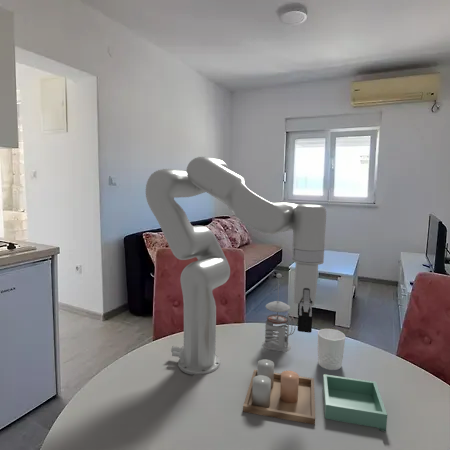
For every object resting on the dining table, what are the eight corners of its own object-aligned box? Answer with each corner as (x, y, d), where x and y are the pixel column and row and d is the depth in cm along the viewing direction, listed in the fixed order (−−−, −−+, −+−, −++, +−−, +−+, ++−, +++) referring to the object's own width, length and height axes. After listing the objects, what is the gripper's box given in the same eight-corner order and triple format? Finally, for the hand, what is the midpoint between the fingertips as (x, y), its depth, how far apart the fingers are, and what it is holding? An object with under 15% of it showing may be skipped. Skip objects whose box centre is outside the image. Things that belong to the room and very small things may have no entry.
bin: (324, 420, 77) (325, 404, 77) (322, 388, 90) (323, 374, 89) (386, 431, 74) (387, 414, 74) (374, 396, 87) (375, 381, 86)
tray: (242, 413, 79) (243, 406, 79) (253, 376, 95) (254, 369, 95) (314, 427, 75) (315, 418, 75) (313, 385, 91) (314, 378, 91)
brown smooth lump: (279, 401, 83) (280, 378, 82) (280, 391, 87) (281, 369, 86) (297, 404, 82) (298, 381, 81) (298, 394, 86) (299, 372, 85)
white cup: (345, 374, 97) (347, 341, 95) (316, 371, 98) (318, 338, 97) (341, 360, 104) (343, 330, 103) (315, 357, 106) (316, 327, 105)
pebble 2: (250, 407, 80) (251, 383, 80) (253, 396, 85) (254, 374, 84) (269, 410, 79) (269, 386, 79) (271, 399, 84) (271, 376, 83)
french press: (274, 336, 120) (276, 268, 117) (301, 348, 112) (304, 275, 109) (255, 344, 114) (257, 273, 111) (283, 358, 105) (286, 280, 102)
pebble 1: (255, 388, 88) (256, 366, 88) (258, 378, 92) (258, 358, 92) (272, 390, 87) (273, 369, 86) (274, 381, 91) (274, 360, 91)
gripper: (292, 248, 90) (289, 309, 92) (291, 262, 73) (287, 336, 75) (321, 250, 89) (317, 312, 91) (326, 264, 72) (322, 340, 74)
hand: (304, 323), depth 83 cm, fingers open, 9 cm apart
